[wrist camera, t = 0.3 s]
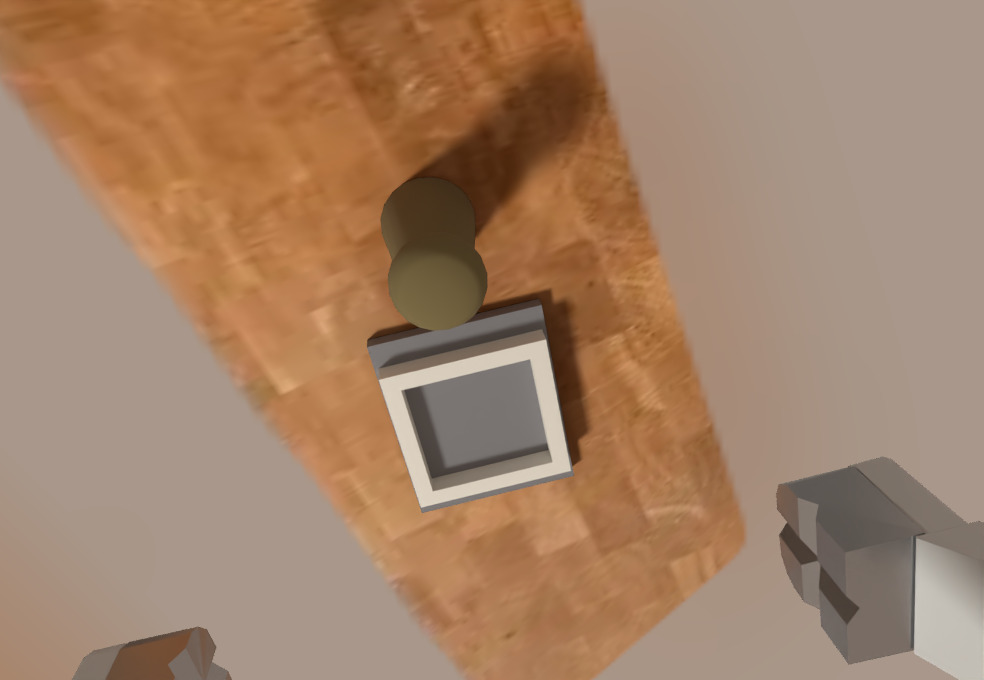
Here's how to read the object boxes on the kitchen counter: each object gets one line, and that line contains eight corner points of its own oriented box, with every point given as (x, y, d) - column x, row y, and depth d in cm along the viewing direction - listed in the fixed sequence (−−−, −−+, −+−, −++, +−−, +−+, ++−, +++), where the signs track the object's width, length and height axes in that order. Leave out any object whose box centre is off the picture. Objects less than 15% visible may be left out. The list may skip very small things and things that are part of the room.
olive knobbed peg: (466, 167, 45) (488, 227, 36) (483, 257, 48) (508, 335, 39) (370, 187, 45) (366, 253, 35) (392, 276, 48) (395, 359, 38)
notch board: (367, 340, 50) (366, 358, 48) (538, 298, 50) (545, 314, 48) (421, 504, 57) (422, 526, 55) (571, 467, 57) (578, 488, 55)
